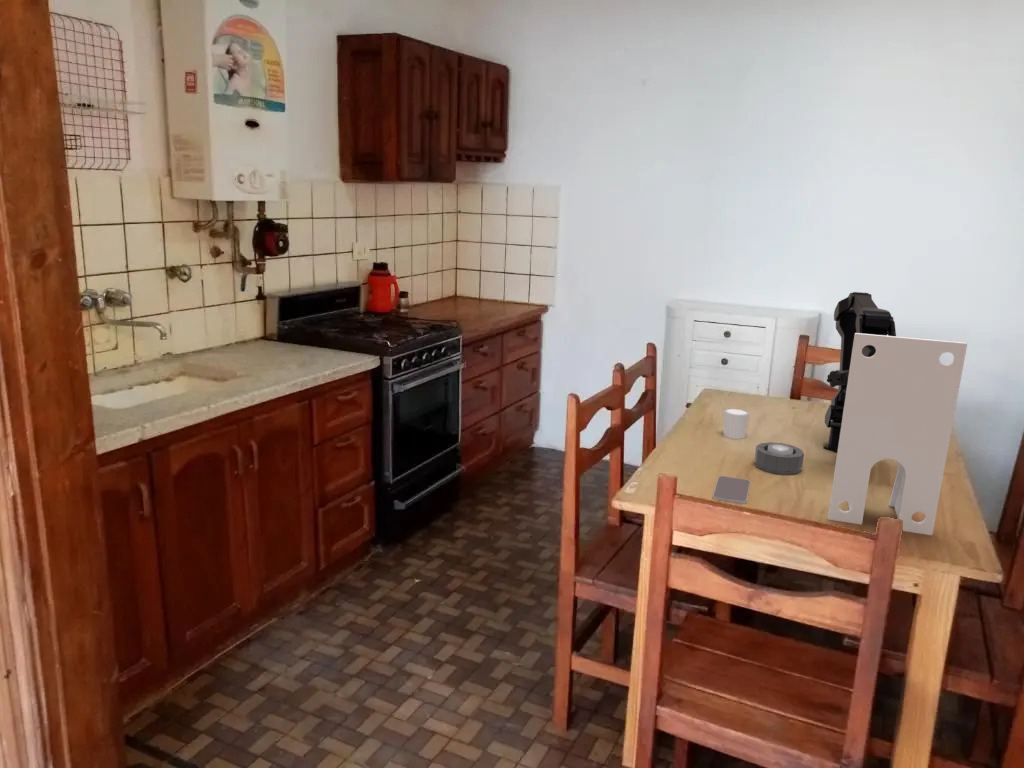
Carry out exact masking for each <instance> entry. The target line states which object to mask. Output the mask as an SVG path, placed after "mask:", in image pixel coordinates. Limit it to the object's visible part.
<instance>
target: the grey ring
mask: <svg viewBox="0 0 1024 768" xmlns="http://www.w3.org/2000/svg"><path fill="white" fill-rule="evenodd" d="M770 444H782V445H787V446H790V447H792V448H793V455H779V454H774V453H770V452H768V451H767V450H768V445H770ZM804 457H805V453H804V451H803V449H801V448H800V447H797V446H795V445H791V444H789V443H788V444H786V443H782V442H771V441H769V442H762V443H761V442H760V443H759V444H757V445H755V452H754V466H755V467H756V468H757V469H759V470H761V471H763V472H766V473H770V474H774V475H781V476H782V475H783V476H790V475H791V476H793V475H797V474H799V473H801V471H802V468H803V463H804Z"/></svg>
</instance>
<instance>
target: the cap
mask: <svg viewBox="0 0 1024 768" xmlns="http://www.w3.org/2000/svg"><path fill="white" fill-rule="evenodd" d="M767 451H768V452H770V453H774V454H779V455H793V448H792V447H790V446H787V445H782V444H770V445H768V450H767Z"/></svg>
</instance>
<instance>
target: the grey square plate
mask: <svg viewBox="0 0 1024 768" xmlns="http://www.w3.org/2000/svg"><path fill="white" fill-rule="evenodd" d="M750 485H751V480H749V479H744V478H738V477H732V476H724V475H719V476H718V478H717V480H716V483H715V488H714V490H713V493H712V499H713V498H715V499H719V500H717V501H718V502H724V503H731V502H734V503H733V504H737V503H738V504H739V505H746V504H747V503H748V497H749V491H750ZM723 500H724V501H723ZM726 501H727V502H726Z"/></svg>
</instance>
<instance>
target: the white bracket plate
mask: <svg viewBox="0 0 1024 768" xmlns="http://www.w3.org/2000/svg"><path fill="white" fill-rule="evenodd" d="M867 345H872V346H874V347H875V349H876V352H875V354H874V355H873V356H872V357H865V356H864V355H863V354H862V349H863V348H864V347H865V346H867ZM967 347H968V342H963V341H962V342H961V341H952V340H951V341H949V340H939V339H928V338H918V337H906V336H905V337H904V336H897V335H896V336H888V335H886V336H885V335H873V334H862V333H855V335H854V342H853V349H852V356H851V363H850V370H849V376H848V383H847V390H846V397H845V404H844V411H843V417H842V424H841V431H840V438H839V445H838V451H836V452H837V453H836V459H835V466H834V473H833V480H832V488H831V492H830V493H831V494H830V500H829V506H828V507H829V508H828V513H827V520H830V521H837V522H841V523H842V522H843V523H850V524H855V525H863V522H864V521H863V520H864V519H863V518H864V515H865V514H864V513H865V508H866V501H867V495H868V489H869V482H870V477H871V471H872V468H873V467H874V466H875V464H876V463H878V462H880V461H883V460H892V461H896V462H898V465H897V466H898V467H897V471H896V474H895V479H894V483H893V487H892V491H891V494H890V499H889V502H888V506H889V507H892V508H894V510H895V514H896V517H897V520H898V519H901V520H903V531H902V532H907V533H913V534H914V533H915V534H919V535H920V534H921V535H927V536H933V534H934V533H933V532H934V528H935V522H936V517H937V512H938V506H939V502H940V496H941V495H940V494H941V489H942V484H943V478H944V474H945V468H946V463H947V457H948V451H949V445H950V442H951V435H952V429H953V424H954V418H955V413H956V407H957V403H958V402H957V401H958V395H959V391H960V385H961V380H962V375H963V370H964V365H965V364H964V363H965V357H966V352H967ZM944 353H950V354H952V356H953V360H952V361H951V362H950V363H948V364H945V363H941V360H940V357H941V356H942V355H943V354H944ZM842 502H843V503H844V502H847V505H848V510H846V511H845V510H843V509H841V508H840V507H839V506H840V504H841V503H842ZM916 513H922V514H924V519H923V520H922V521H915V520H914V519H913V518H912V517H913V515H914V514H916Z"/></svg>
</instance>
